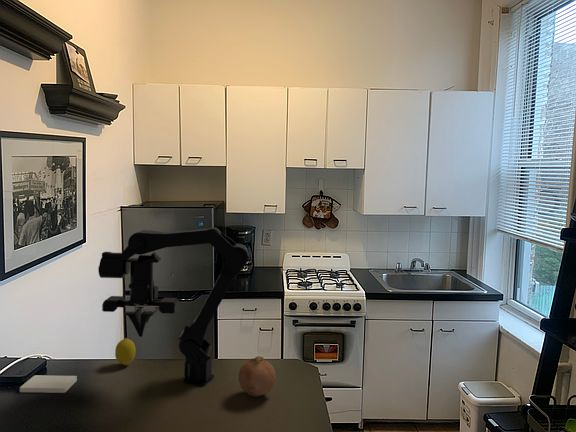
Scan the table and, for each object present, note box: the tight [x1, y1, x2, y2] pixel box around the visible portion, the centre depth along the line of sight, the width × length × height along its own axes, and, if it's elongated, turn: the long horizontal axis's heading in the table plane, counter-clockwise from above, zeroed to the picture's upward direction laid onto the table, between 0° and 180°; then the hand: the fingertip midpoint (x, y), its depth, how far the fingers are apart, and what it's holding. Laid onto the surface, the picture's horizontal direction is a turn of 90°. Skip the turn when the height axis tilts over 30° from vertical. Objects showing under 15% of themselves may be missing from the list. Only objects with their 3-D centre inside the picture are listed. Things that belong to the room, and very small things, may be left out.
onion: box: [238, 355, 277, 398], centre depth 115 cm, size 10×9×10 cm
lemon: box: [114, 337, 136, 366], centre depth 131 cm, size 6×6×8 cm
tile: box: [19, 374, 78, 394], centre depth 117 cm, size 2×7×11 cm
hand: (141, 336), depth 121 cm, fingers closed
